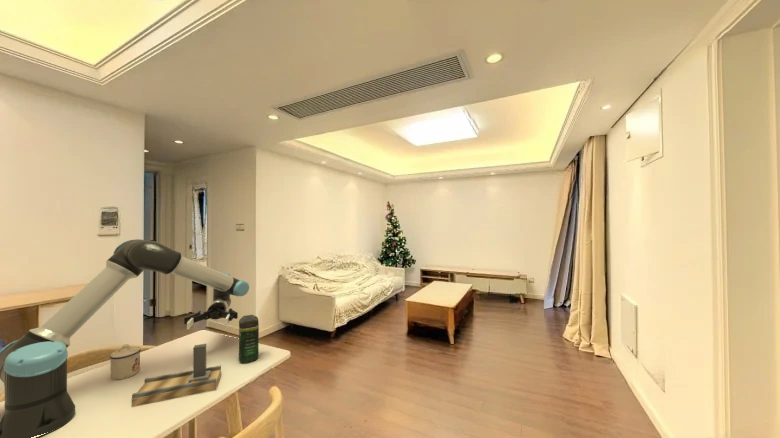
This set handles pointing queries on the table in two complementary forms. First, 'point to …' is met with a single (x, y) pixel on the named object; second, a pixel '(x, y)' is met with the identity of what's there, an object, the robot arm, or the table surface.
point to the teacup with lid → (125, 362)
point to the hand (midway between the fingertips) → (207, 324)
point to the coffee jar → (248, 338)
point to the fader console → (174, 386)
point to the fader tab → (199, 364)
